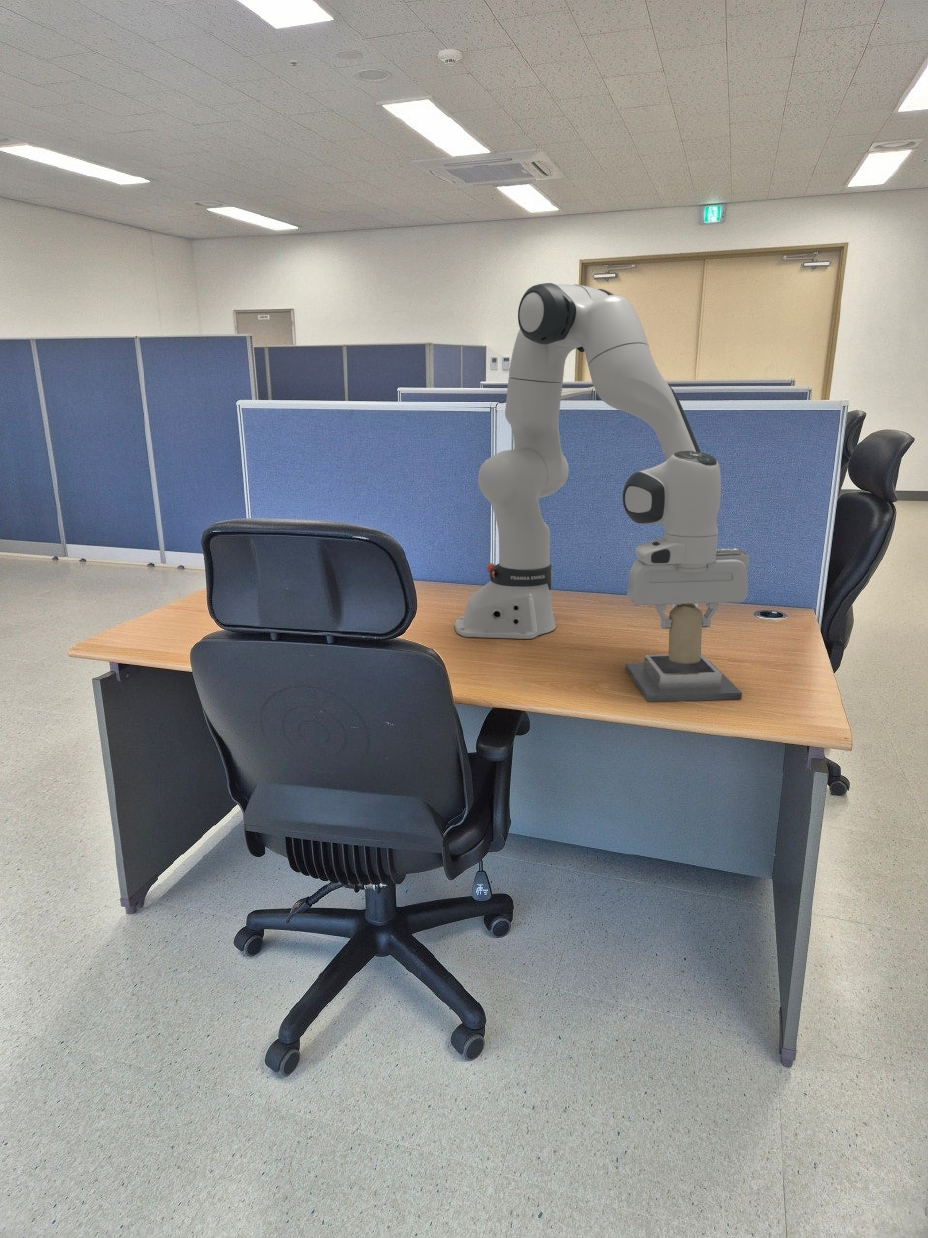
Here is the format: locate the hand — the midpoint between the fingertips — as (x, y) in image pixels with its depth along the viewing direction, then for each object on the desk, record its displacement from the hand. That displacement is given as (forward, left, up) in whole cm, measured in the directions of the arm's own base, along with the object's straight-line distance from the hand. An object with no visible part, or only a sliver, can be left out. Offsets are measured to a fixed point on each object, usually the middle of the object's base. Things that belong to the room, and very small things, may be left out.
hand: (684, 627), depth 137 cm
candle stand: (0, 0, -11) cm, 11 cm away
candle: (0, 0, -6) cm, 6 cm away
